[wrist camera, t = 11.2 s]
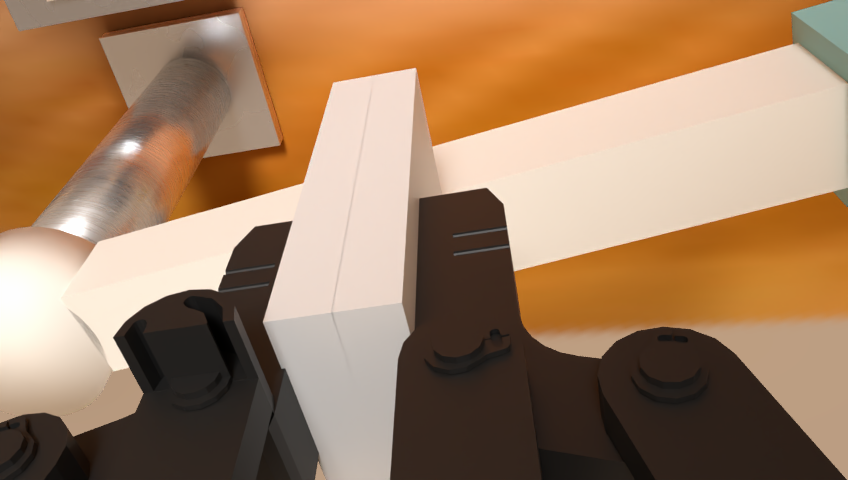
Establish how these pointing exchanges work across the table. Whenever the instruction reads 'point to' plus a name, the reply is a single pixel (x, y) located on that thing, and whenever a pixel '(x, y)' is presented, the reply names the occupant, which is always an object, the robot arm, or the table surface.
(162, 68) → the post
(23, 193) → the table surface
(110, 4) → the grey tin
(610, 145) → the swing arm
